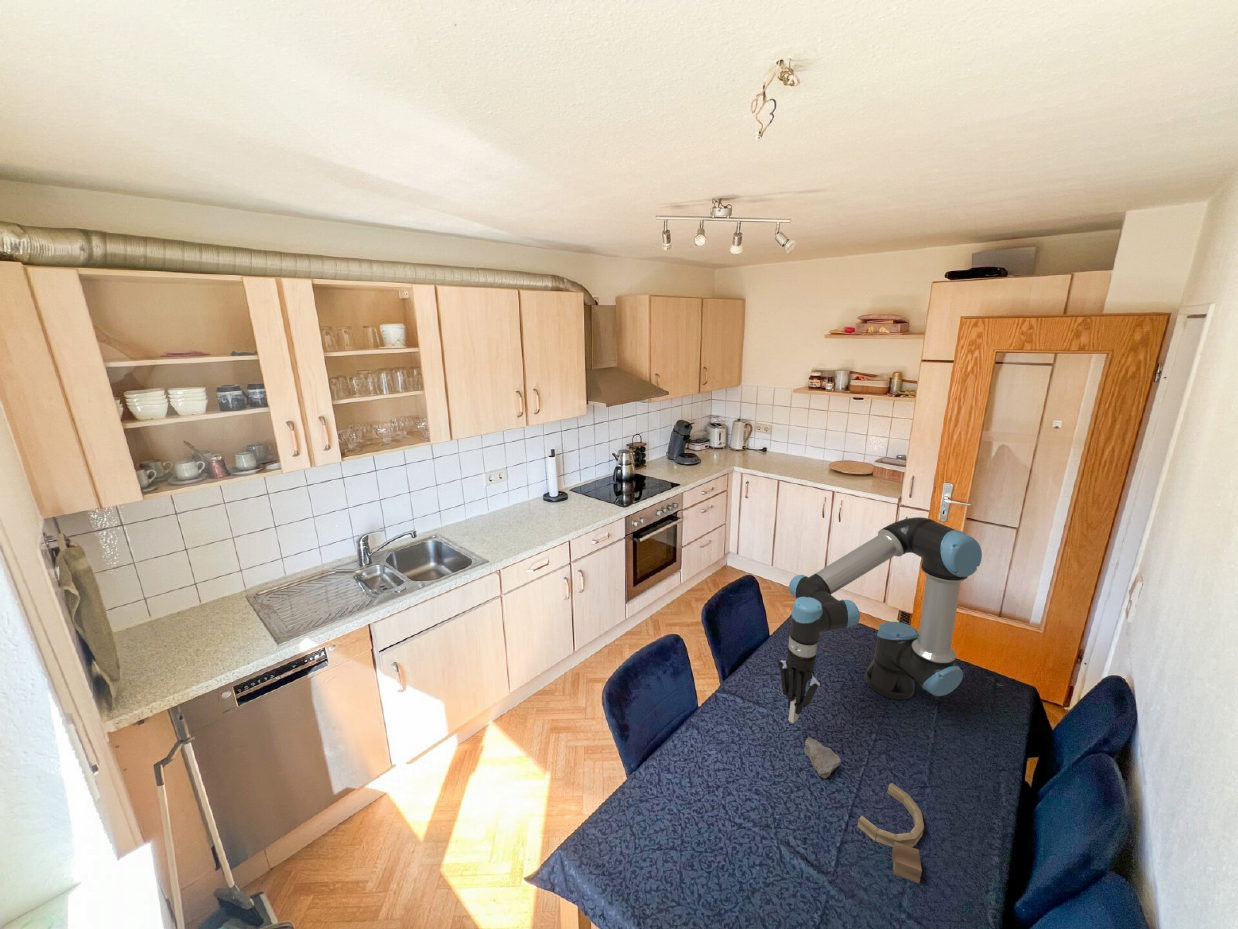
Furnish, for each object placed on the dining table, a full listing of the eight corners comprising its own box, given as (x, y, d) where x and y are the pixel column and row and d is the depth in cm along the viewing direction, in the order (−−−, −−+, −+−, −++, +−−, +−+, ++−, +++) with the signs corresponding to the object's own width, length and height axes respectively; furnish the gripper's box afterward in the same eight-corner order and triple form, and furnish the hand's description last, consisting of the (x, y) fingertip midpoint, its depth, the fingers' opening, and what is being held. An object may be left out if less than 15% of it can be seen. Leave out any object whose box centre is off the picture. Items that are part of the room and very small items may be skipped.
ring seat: (890, 790, 132) (891, 782, 131) (933, 820, 123) (935, 813, 123) (857, 826, 122) (858, 819, 121) (902, 862, 114) (903, 854, 113)
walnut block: (891, 854, 116) (894, 841, 115) (915, 862, 114) (918, 849, 113) (893, 874, 111) (896, 861, 110) (919, 884, 109) (921, 871, 108)
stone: (824, 784, 134) (826, 767, 132) (794, 759, 142) (796, 742, 140) (842, 771, 138) (844, 754, 136) (813, 747, 146) (814, 730, 144)
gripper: (774, 644, 140) (767, 712, 146) (815, 668, 130) (805, 740, 136) (790, 634, 145) (782, 701, 151) (830, 657, 135) (820, 728, 141)
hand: (793, 719), depth 144 cm, fingers closed
